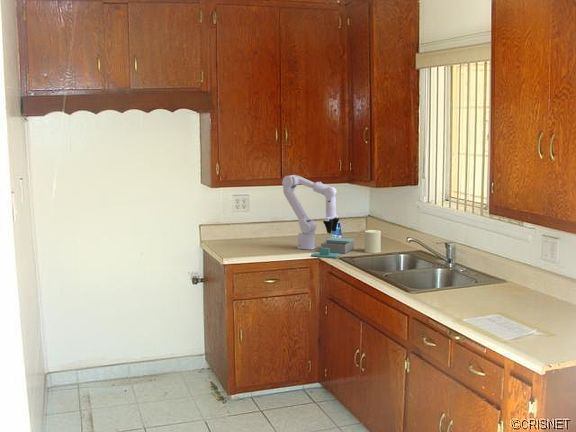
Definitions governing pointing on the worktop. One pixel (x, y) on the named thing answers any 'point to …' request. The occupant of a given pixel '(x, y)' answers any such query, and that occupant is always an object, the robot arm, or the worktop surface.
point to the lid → (325, 253)
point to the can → (372, 241)
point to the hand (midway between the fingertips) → (331, 232)
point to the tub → (338, 245)
